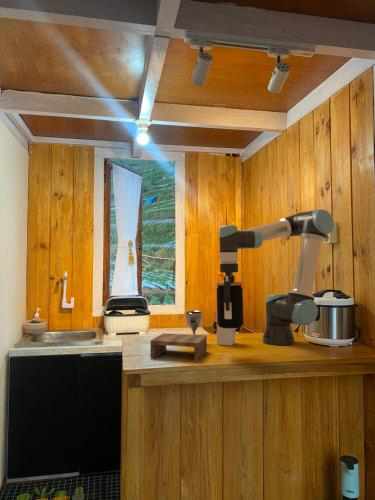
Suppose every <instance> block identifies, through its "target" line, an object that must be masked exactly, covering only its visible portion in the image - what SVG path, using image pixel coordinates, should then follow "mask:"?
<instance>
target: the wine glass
mask: <svg viewBox="0 0 375 500" xmlns="http://www.w3.org/2000/svg"><path fill="white" fill-rule="evenodd" d="M185 321H186V324H187V326H188V327H189V329H191V331H192V335H196V331H197V330H198V329H199V327H200V325H201V324H202V321H203V311H200V310H188V311H185Z"/></svg>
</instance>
